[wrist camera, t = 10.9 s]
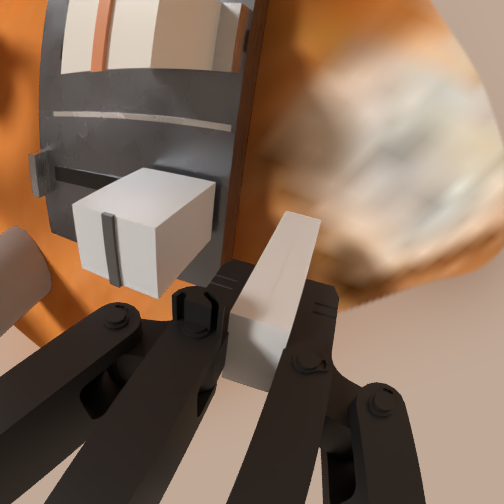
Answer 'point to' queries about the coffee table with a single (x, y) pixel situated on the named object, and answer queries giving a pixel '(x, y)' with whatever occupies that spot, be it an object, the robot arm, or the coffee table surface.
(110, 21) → the block
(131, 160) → the console
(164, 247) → the block
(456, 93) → the coffee table surface
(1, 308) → the cup
